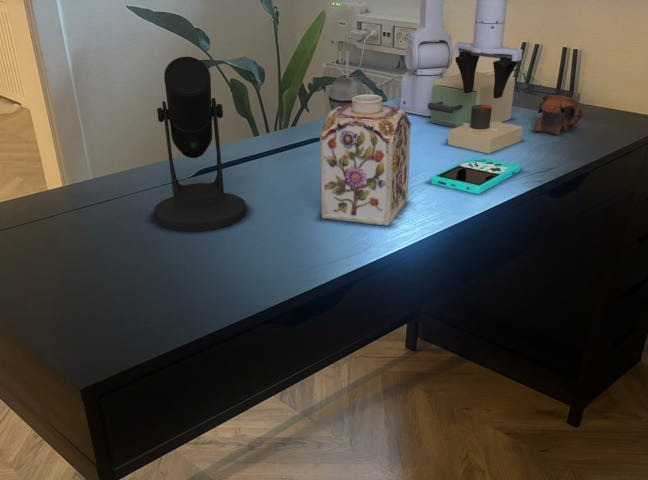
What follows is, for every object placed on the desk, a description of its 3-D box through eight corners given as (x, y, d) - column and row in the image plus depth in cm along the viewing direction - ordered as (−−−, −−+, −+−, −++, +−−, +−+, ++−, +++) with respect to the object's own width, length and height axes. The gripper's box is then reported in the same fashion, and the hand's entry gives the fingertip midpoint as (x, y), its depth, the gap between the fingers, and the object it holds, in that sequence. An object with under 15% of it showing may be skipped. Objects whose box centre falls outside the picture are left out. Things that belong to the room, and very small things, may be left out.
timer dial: (466, 127, 153) (468, 105, 151) (477, 123, 155) (479, 102, 153) (482, 130, 150) (484, 108, 148) (493, 126, 153) (495, 105, 151)
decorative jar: (408, 202, 124) (414, 91, 114) (390, 227, 115) (394, 108, 105) (341, 195, 127) (341, 87, 118) (318, 219, 118) (316, 103, 109)
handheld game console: (521, 171, 137) (522, 164, 136) (479, 194, 127) (480, 187, 126) (473, 161, 143) (474, 154, 142) (429, 183, 132) (430, 176, 132)
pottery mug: (520, 131, 162) (531, 94, 162) (548, 145, 168) (558, 109, 167) (563, 128, 152) (575, 88, 152) (592, 143, 157) (603, 104, 157)
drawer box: (475, 131, 161) (479, 87, 157) (431, 122, 169) (433, 80, 164) (510, 118, 170) (515, 77, 165) (466, 110, 177) (470, 70, 172)
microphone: (155, 238, 113) (130, 64, 99) (154, 200, 127) (133, 44, 114) (252, 229, 115) (240, 58, 102) (240, 193, 129) (228, 40, 116)
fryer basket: (458, 132, 158) (461, 96, 154) (417, 123, 164) (419, 89, 160) (503, 116, 168) (507, 82, 165) (463, 109, 175) (466, 76, 171)
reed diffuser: (366, 152, 149) (368, 46, 138) (364, 163, 143) (366, 53, 132) (330, 152, 150) (329, 46, 139) (327, 163, 144) (326, 53, 133)
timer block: (445, 144, 153) (446, 128, 152) (478, 132, 161) (479, 117, 159) (489, 153, 147) (490, 137, 145) (520, 141, 154) (522, 125, 153)
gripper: (446, 21, 144) (441, 93, 151) (511, 27, 136) (503, 103, 143) (467, 17, 149) (461, 87, 156) (531, 23, 140) (522, 97, 147)
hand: (482, 95), depth 150 cm, fingers open, 6 cm apart
